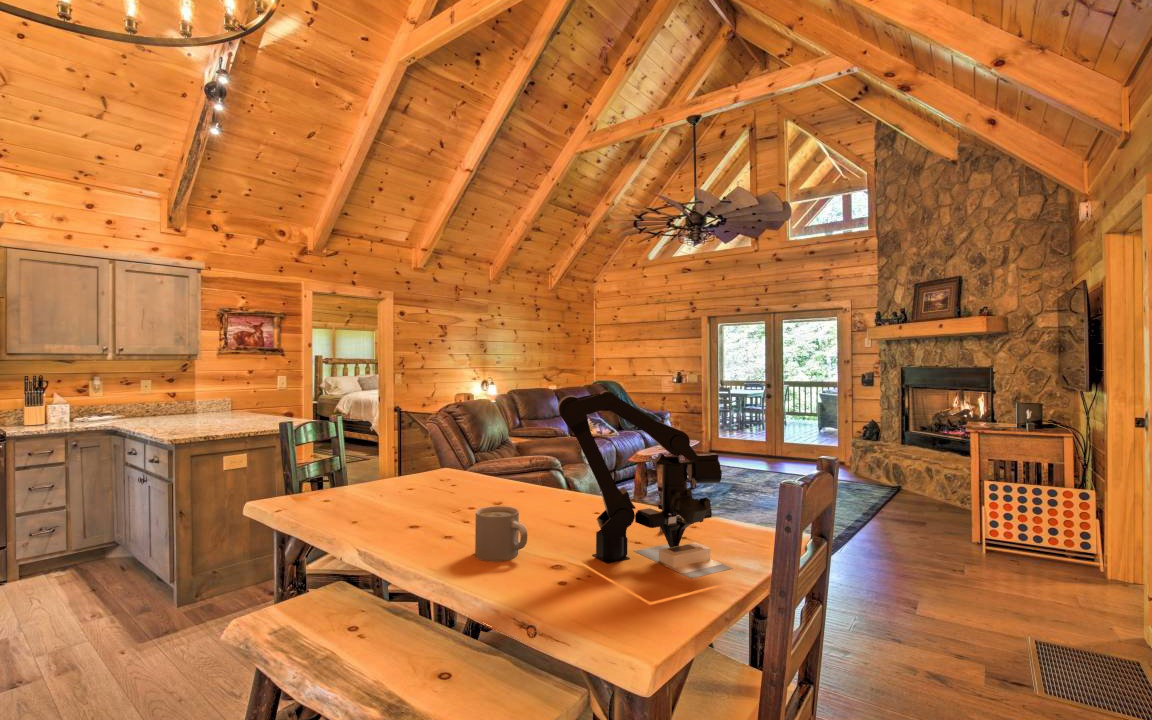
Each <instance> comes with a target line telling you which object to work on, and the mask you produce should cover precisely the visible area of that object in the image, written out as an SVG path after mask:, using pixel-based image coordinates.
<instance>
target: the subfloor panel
mask: <svg viewBox="0 0 1152 720" xmlns="http://www.w3.org/2000/svg"><path fill="white" fill-rule="evenodd" d="M665 548H670V547H669V544H668V543H667V544H663V545H662V544H661V545H656V546H652V547H646V548H642V549H636V550H633V552H634V553H636V554H638V555H641V556H643V557H645V558H647V559H649V560H650V561H651V560H652V561H654V562H655V563H657V564H660V565H662V566H663V567H666V568H668V569H670V570H672V571H674V572H677V573H678V574H680V575H683V576H685V577H687V578H688V579H696V578H700V577H703V576H707V575H712V574H717V573H721V572H725V571H728V570H729V571H730V570H733V567H731V566H728V565H726V564H723V563H722V562H719V561H718V560H717V561H716V560H714V559H712V558H711V559H710V560H705V561H701V562H697V563H693V564H688V565H684V566H680V567H675V568H673V567H671V566H668V565H666V564H664V563H662V562H660V561H659V550H660V549H665Z"/></svg>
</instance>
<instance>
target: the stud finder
mask: <svg viewBox="0 0 1152 720" xmlns="http://www.w3.org/2000/svg"><path fill="white" fill-rule="evenodd" d="M711 551H712V550H711V547H708V546H706V545H703V544H699V542H695V541H694V542H690V543H686V544H679V546H675V547H670V548H665V549H660V550H659V561H660V562H662V563H664V564H666V565H668V566H671V567H673V568H675V567H680V566H684V565H688V564H693V563H697V562H701V561H705V560H710V559H712V558H711V557H712V555H711V554H712V553H711Z"/></svg>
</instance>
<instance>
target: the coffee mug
mask: <svg viewBox="0 0 1152 720" xmlns="http://www.w3.org/2000/svg"><path fill="white" fill-rule="evenodd" d="M519 514H520V512H519V509H517V508H515V507H512V506H507V505H506V506H503V505H497V506H496V505H495V506H487V507H482V508H478V509H477V510H476V511H475V534H474V535H475V536H474V537H475V541H474V543H475V545H474V548H475V549H474V554H475V555H474V556H475V558H476V559H477V560H479V561H483V562H495V563H498V562H506V561H510V560H513V559H515V558H516V557H518V556H519V550H521V549H523V548H524V547H526V545H527V542H528V531H527V528H526V525H524V524H523V523H521V522H520V521H519V518H520V517H519V516H520V515H519ZM519 534H520V536H519ZM519 537H520V540H519Z"/></svg>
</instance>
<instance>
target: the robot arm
mask: <svg viewBox="0 0 1152 720" xmlns="http://www.w3.org/2000/svg"><path fill="white" fill-rule="evenodd" d="M603 410H608V411H610V412H611V413H612V414H615V415H617V416H618V417H620V418H621V419H623V420H625V421H626V422H628V423H629V424H630V425H633V426H634V427H636V428H638V429H639V430H641V431H642V432H644V433H645V434H647V435H648V436H649V437H650V438H651V439H653V441H654V442H656V443H657V445H659V446H660V447H661V449H664V450H665V451H666V452H667V453H669V454H671V456H667V455H664V454H663V453H662V452H660V453H659V454H658V455H657V456H656V457H655V458H654V459H652V460H653V463H655V464H656V465H659V466H661V471H662V472H661V485H658V487H657V488H658V492H661V503H659V504H658V505H657V508H658V510H659V511H658V510H656V509H653V508H649V507H648V508H643V509H637V510H636V512H635V511H634V510H635V509H636V505H634V503H633V502H632V500H631V497H630V494H629V491H628V490H627V488H626V487H625V486H622V487H620V488H618V486H617V484H616V483H615V480H614V478H613V476H612V474H611V472H610V470H609V468H608V465H607V463H606V461H605V459H604V457H603V455H602V452H601V450H600V448H599V446H598V445H597V442H596V440H595V438H594V436H593V434H592V432H591V431H592V430H591V428H590V423H589V418H588V415H590V414H593V413H596V412H600V411H603ZM557 411H558V414H559V416H560V417H561V419H562V420H563V421H564V423H565V424H566V426H567V427H568V429H569V430H570V431H571V433H572V434H573V435H574V436H575V438H576V440H577V442H578V445H579V447H580V449H581V451H582V454H583V455H584V457H585V459H586V462H587V463H588V465H589V468H590V470H591V472H592V474H593V476H594V478H595V481H596V483H597V485H598V487H599V490H600V492H601V497H602V501H603V505H604V511H602V513H600V514H599V516H598V517H597V518H596V520H597V521H596V522H597V524H598V527H599V529H600V530H597V531H596V533H595V535H596V536H595V537H596V538H595V540H596V541H595V553H593V554H592V555H591V556H592V557H594V558H596V559H598V560H599V561H601V562H603V563H605V564H608V565H609V564H614V563H618V562H622V561H624V562H625V561H628V560H631V557H629V556H628V546H629V545H628V539H629V538H628V536H627V530H628V528H629V527H630V526H632V525H633V523H636V524H639V525H641V526H644V527H646V528H649V529H655V528H659V529H660V528H661V529H662V531H663V532H662V533H663V535H664V537H665V540H666V542H667V544H669V547H675V546H680V543H681V540H682V537H683V536H684V535H683V534H684V532H685V530H686V529H687V528H688V527H690V525H694V524H696V523H703V522H704V520H705V519H710V518H712V517H713V516H712V515H713V514H712V513H713V511H712V506H711V500H710V499H709V497H702V498H694V497H693V492H692V489H691V488H688V478H689V480H692V482H693V483H694V484H720V483H721V480H722V475H723V474H722V472H723V471H722V469H721V464H720V461H719V454H717V453H715V452H714V453H711V452H710V453H704V454H703V453H697V452H696V451H695V450H694V449H693V448H692V447H691V442H690V441H691V439H690V436H689V435H688V434H687V433H686V432H685V431H683V430H681V429H678V428H676V427H674V426H671V425H668V424H666V423H663V422H661V421H659V420H656V419H654V418H653V417H651V416H649V415H648V414H646V413H644V412H643V411H641V410H640V409H637V408H636V407H635V406H633V405H631V404H629V403H628V402H626V401H625V400H624V399H622V398H620V397H618V396H617V395H615V393H613V392H612V391H610V390H603V391H601V392H597V393H593V394H587V395H584V396H579V397H577V396H575V395H566V396H563V397H562V398H561V399H560V400H559V402H558V405H557ZM672 455H673V456H672ZM678 456H682V457H683V458H685V459H683V460H682V459H679V457H678ZM669 514H670V515H669Z"/></svg>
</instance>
